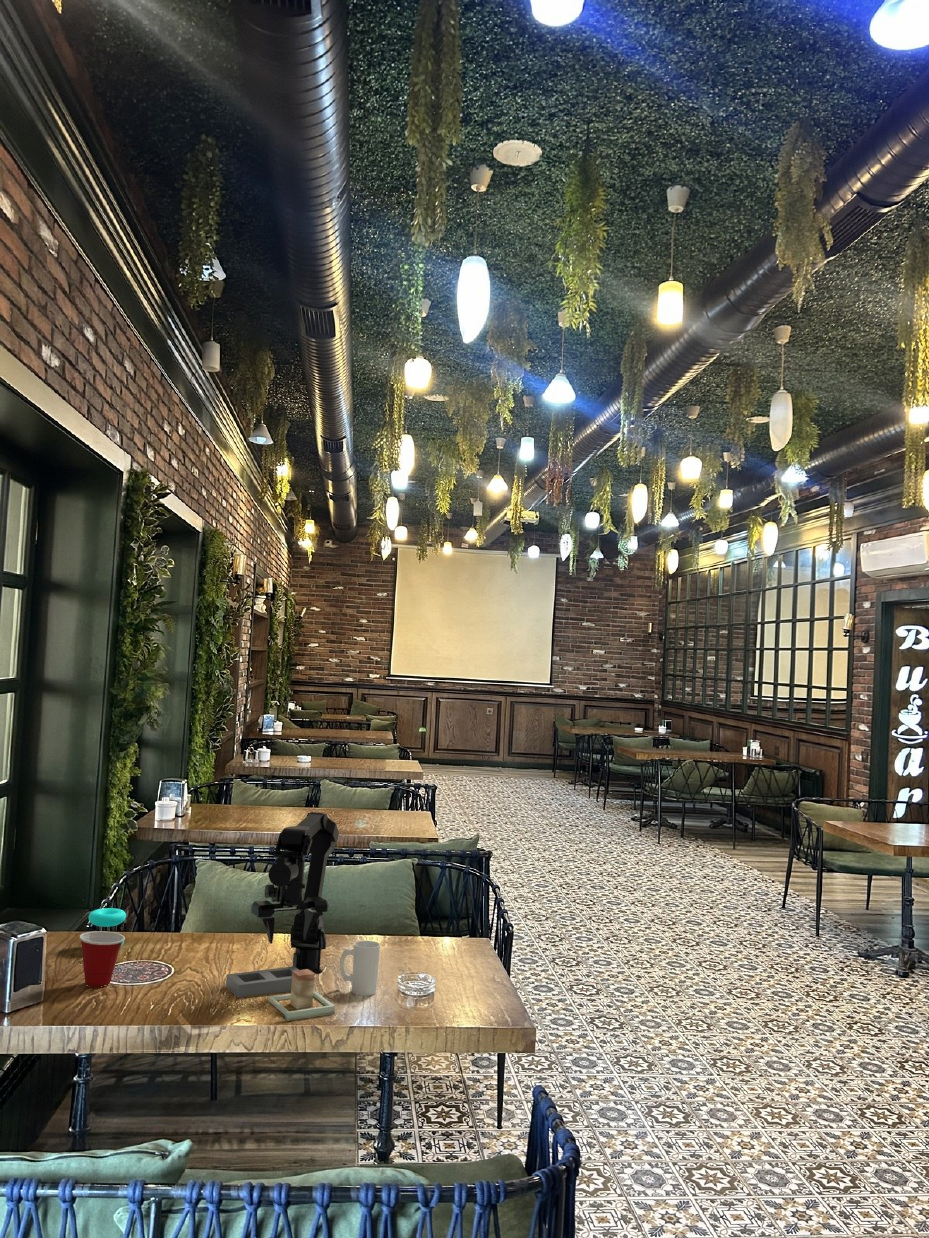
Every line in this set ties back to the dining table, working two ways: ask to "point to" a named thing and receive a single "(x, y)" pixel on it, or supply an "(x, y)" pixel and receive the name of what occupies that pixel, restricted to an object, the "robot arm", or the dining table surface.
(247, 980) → the grey cinder block
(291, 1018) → the tray
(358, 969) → the mug
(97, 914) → the donuts
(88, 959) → the plastic cup
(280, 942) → the dining table surface
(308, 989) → the plug
